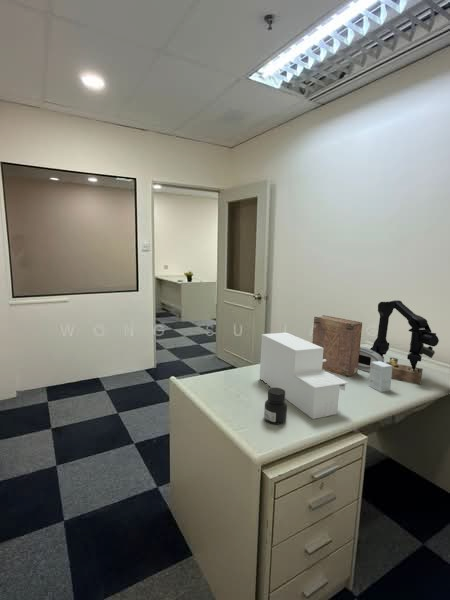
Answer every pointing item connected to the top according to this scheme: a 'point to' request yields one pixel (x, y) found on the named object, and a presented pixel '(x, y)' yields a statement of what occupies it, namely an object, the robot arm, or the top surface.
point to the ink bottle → (275, 406)
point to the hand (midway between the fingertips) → (413, 369)
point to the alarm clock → (367, 358)
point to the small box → (380, 376)
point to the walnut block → (406, 374)
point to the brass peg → (393, 362)
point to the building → (300, 374)
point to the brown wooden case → (338, 343)
